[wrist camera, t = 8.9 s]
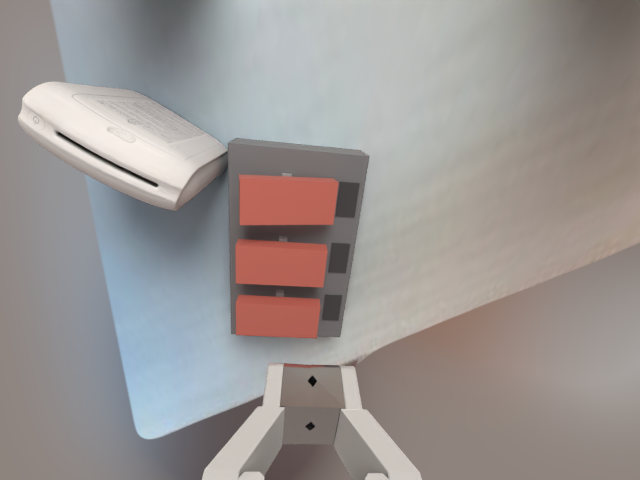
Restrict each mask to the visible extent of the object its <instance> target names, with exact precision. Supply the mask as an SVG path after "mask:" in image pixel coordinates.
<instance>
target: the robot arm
mask: <svg viewBox="0 0 640 480" xmlns="http://www.w3.org/2000/svg"><path fill="white" fill-rule="evenodd" d="M282 444H320V445H334V448H335V450H336V452H337V454H338V455H339V457H340V459H341V461H342V462H343V464H344V465H345V468H346V469H347V471H348V473H349V475H350V476H351V478H352V479H353V480H422V479H421V475H420V472H419V471H418V470H417V469H416V468H415V466H414V465H413V464H412V463H411V462H410V460H409V459H408V458H407V457H406V456H405V454H404V453H403V452H402V451H401V450H400V449H399V447H398V446H397V445H396V444H395V443H394V441H393V440H392V439H391V438H390V437H389V435H388V434H387V433H386V432H385V431H384V430H383V428H382V427H381V426H380V425H379V424H378V423H377V421H376V420H375V419H374V418H373V416H372V415H371V414H370V413H369V412H368V410H363V409H362V404H361V398H360V393H359V387H358V382H357V376H356V370H355V368H354V366H338V365H301V364H286V363H284V368H283V363H269V365H268V369H267V376H266V384H265V391H264V398H263V405H262V406H261V407H257V408H256V409H255V410H254V412H253V413H252V414H251V415H250V416H249V418H248V419H247V420H246V421H245V423H243V425H242V426H241V427H240V428H239V429H238V431H237V432H236V433H235V434H234V435H233V437H232V438H231V439H230V440H229V441H228V442H227V444H226V445H225V446H224V447H223V448H222V450H221V451H220V452H219V453H218V454H217V455H216V457H215V458H214V459H213V460H212V461H211V463H210V464H209V465H208V466H207V467H206V468H205V470H204V474H203V477H202V480H264V475H265V473H266V472H267V470H268V469H269V467H270V465H271V464H272V462H273V460H274V459H275V457H276V455H277V454H278V452H279V450H280V448H281V447H282Z"/></svg>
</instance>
